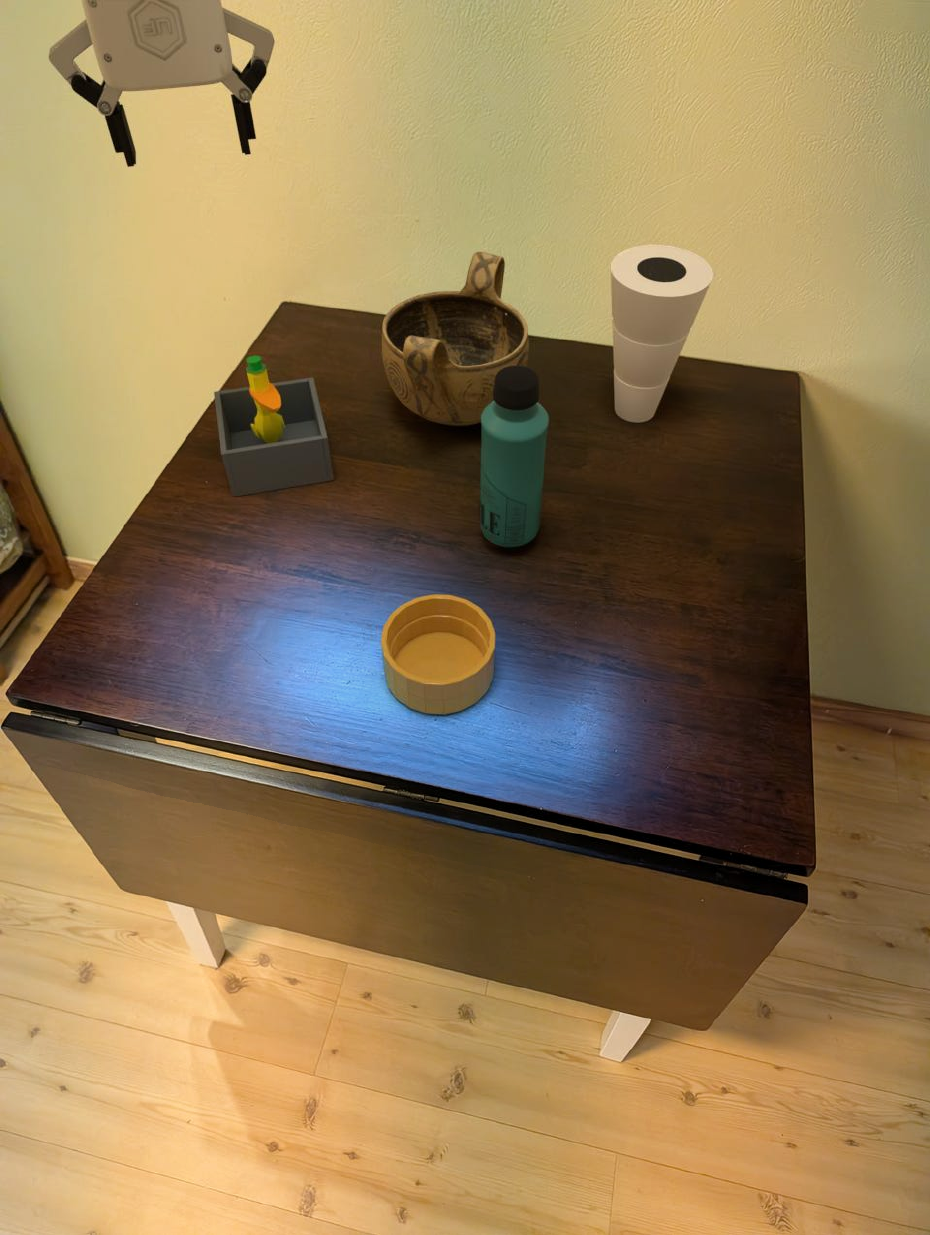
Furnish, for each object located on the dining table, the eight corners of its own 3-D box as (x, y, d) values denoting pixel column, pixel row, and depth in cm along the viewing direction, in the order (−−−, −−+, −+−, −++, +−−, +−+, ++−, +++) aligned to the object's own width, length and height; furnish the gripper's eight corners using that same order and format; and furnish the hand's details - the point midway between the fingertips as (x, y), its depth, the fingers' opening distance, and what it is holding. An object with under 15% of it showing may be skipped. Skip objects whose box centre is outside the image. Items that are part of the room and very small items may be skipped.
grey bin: (233, 497, 93) (221, 454, 88) (225, 434, 100) (213, 391, 95) (334, 480, 94) (327, 437, 90) (320, 419, 101) (313, 377, 97)
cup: (619, 447, 98) (645, 305, 84) (575, 396, 104) (592, 256, 90) (696, 424, 101) (733, 283, 87) (648, 375, 107) (676, 236, 93)
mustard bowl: (397, 726, 74) (393, 694, 70) (376, 639, 80) (371, 605, 76) (506, 703, 76) (508, 670, 72) (477, 619, 82) (478, 585, 78)
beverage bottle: (550, 530, 90) (568, 368, 74) (519, 569, 86) (531, 407, 70) (497, 507, 92) (505, 345, 76) (465, 544, 88) (465, 382, 73)
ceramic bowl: (488, 481, 94) (491, 365, 83) (352, 445, 98) (337, 329, 87) (549, 371, 108) (560, 258, 96) (427, 343, 111) (423, 232, 100)
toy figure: (303, 464, 95) (286, 373, 86) (274, 475, 94) (254, 385, 85) (278, 432, 99) (259, 342, 90) (249, 443, 98) (227, 352, 88)
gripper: (-6, -82, 56) (84, 184, 69) (256, -97, 59) (294, 162, 72) (3, -107, 60) (86, 146, 74) (247, -120, 63) (284, 127, 76)
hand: (189, 154), depth 73 cm, fingers open, 9 cm apart
